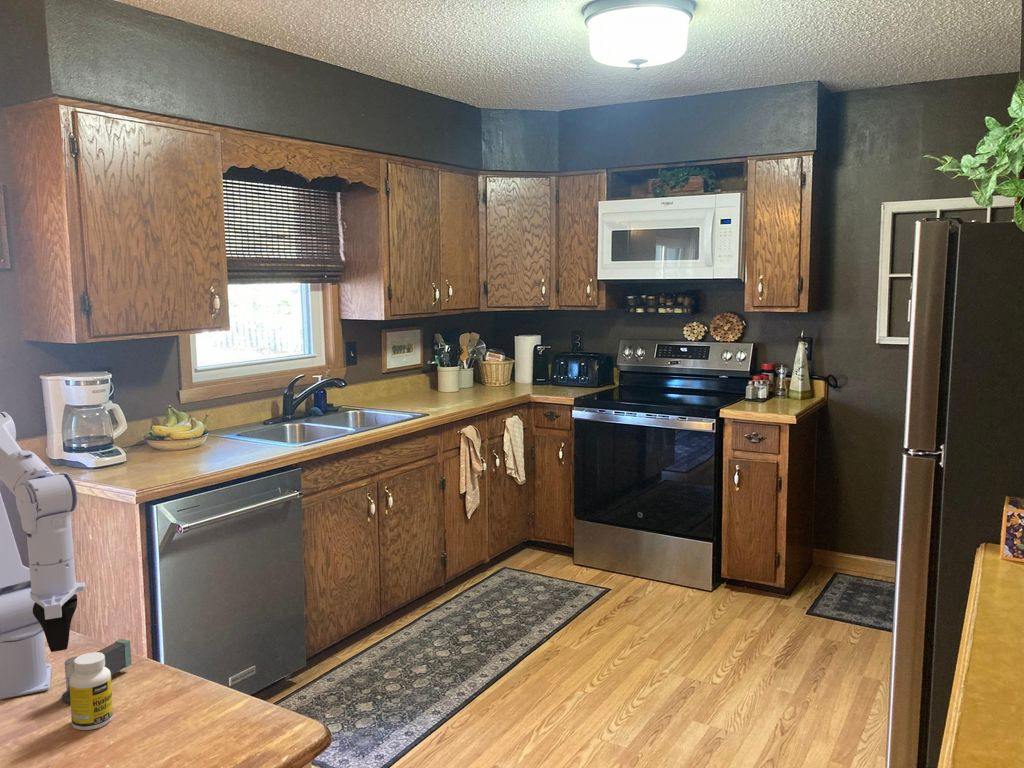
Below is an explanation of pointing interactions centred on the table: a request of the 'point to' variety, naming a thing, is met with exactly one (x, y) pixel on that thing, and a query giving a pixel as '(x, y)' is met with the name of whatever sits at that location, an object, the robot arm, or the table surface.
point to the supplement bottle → (90, 692)
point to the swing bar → (106, 659)
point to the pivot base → (66, 698)
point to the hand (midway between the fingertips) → (59, 649)
